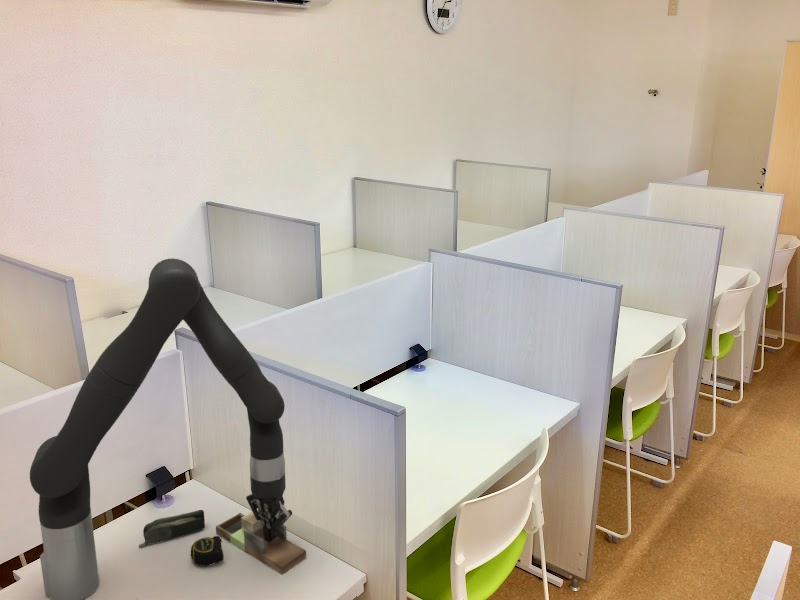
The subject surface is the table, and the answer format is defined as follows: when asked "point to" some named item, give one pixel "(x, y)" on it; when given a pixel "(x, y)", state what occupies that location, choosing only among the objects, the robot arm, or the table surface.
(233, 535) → the pad
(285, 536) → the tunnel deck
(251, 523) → the block
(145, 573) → the table surface
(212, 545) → the tape measure
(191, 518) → the green pencil case
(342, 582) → the table surface
